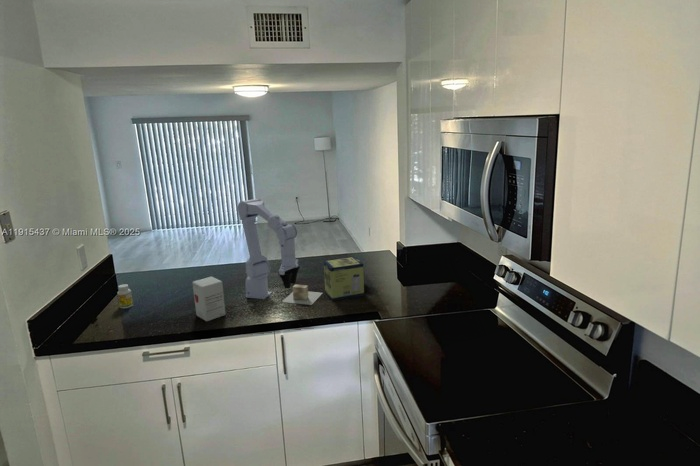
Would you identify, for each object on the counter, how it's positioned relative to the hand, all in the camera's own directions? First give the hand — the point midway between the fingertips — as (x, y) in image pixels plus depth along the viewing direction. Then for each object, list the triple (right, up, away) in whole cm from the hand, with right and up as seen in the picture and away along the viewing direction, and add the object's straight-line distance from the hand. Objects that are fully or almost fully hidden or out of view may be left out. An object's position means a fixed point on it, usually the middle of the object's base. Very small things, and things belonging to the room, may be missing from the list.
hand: (290, 285), depth 189 cm
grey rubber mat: (+4, -7, +14) cm, 16 cm away
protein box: (+22, -6, +16) cm, 28 cm away
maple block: (+3, -7, +12) cm, 14 cm away
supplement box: (-33, -12, -2) cm, 35 cm away
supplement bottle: (-73, -10, +10) cm, 74 cm away
